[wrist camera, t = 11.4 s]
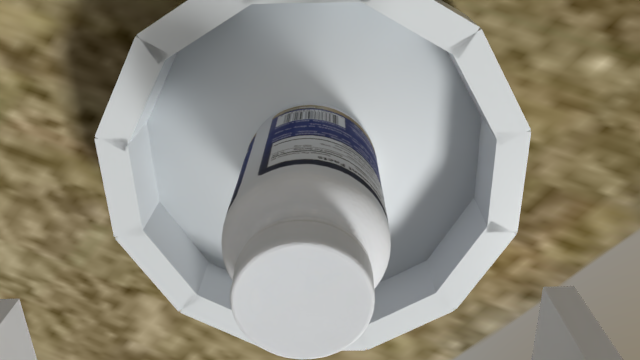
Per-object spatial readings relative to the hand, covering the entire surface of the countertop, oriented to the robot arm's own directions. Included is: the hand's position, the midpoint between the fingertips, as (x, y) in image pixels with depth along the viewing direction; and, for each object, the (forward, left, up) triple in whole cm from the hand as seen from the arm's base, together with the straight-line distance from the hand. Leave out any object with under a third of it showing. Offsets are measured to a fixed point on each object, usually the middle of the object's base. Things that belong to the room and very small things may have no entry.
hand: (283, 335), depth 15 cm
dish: (0, 0, -12) cm, 12 cm away
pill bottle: (0, 0, -11) cm, 11 cm away
